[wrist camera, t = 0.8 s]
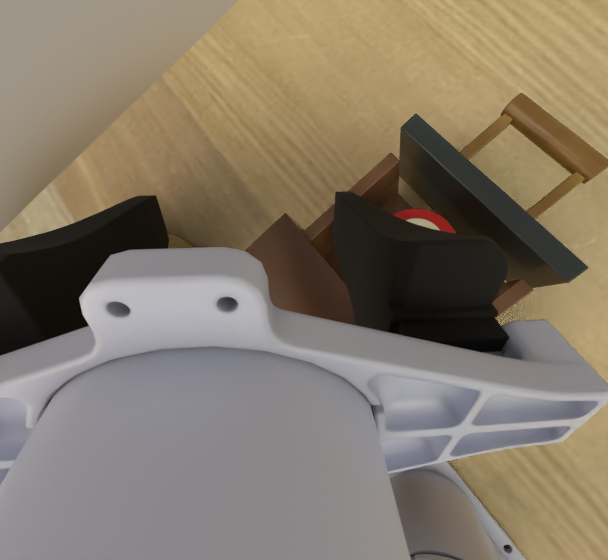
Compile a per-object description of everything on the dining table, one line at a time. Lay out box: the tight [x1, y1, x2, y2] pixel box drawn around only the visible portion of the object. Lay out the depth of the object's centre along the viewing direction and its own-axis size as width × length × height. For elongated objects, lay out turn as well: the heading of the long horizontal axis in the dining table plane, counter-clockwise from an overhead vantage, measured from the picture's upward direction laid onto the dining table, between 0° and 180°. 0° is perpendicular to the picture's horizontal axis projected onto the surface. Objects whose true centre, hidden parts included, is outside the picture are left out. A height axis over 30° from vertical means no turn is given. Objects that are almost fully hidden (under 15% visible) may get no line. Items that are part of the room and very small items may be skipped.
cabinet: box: [245, 213, 356, 325], centre depth 23 cm, size 13×14×9 cm
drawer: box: [303, 93, 608, 319], centre depth 21 cm, size 16×12×7 cm
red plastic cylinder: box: [394, 209, 455, 233], centre depth 19 cm, size 4×4×8 cm
